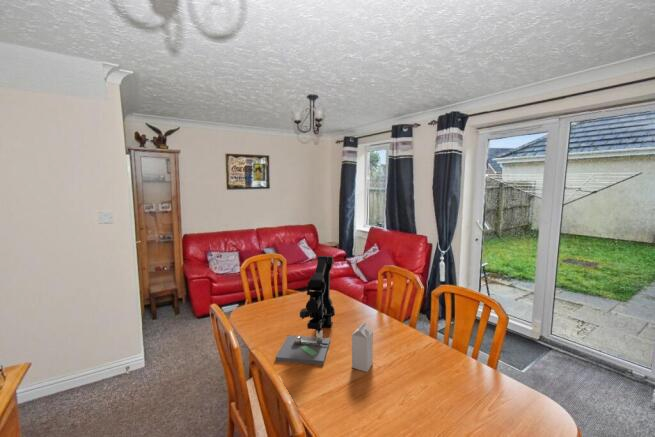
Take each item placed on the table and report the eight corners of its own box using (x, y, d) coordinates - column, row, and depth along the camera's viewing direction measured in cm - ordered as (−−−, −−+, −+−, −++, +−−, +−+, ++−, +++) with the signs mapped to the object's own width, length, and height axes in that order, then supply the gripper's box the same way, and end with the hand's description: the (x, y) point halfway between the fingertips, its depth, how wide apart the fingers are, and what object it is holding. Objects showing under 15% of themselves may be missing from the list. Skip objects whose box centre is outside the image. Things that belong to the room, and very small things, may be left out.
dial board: (288, 339, 155) (288, 335, 155) (330, 342, 152) (330, 337, 151) (275, 361, 136) (275, 356, 135) (323, 365, 132) (323, 360, 132)
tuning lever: (292, 344, 145) (292, 330, 145) (295, 339, 149) (294, 326, 149) (326, 347, 142) (326, 333, 141) (328, 343, 146) (328, 329, 145)
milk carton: (351, 368, 130) (351, 326, 128) (357, 359, 136) (357, 319, 134) (367, 372, 127) (367, 329, 124) (372, 363, 133) (372, 322, 131)
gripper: (305, 295, 156) (306, 323, 158) (295, 311, 138) (297, 342, 140) (326, 296, 154) (327, 324, 156) (319, 312, 136) (320, 344, 138)
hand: (317, 333), depth 148 cm, fingers closed
